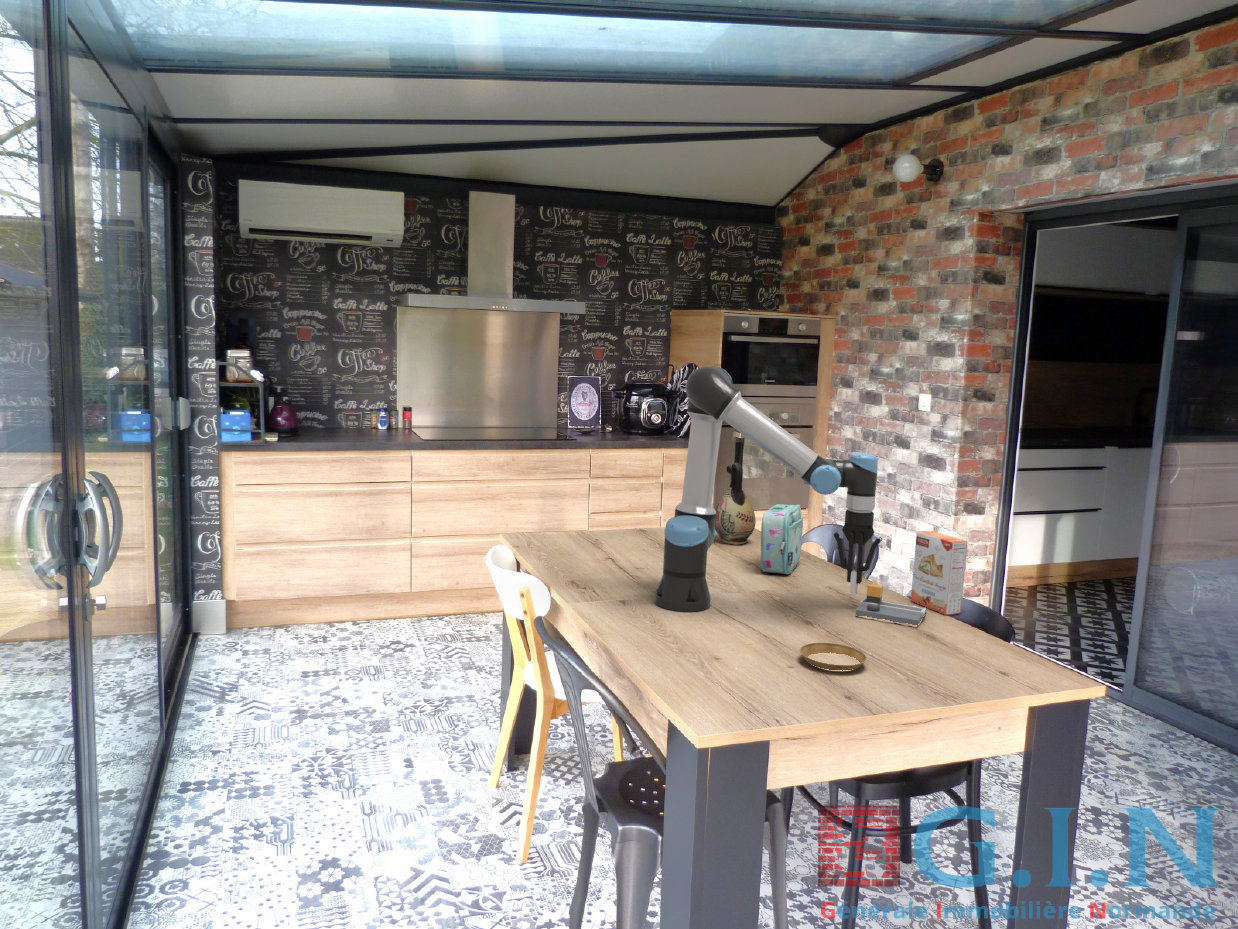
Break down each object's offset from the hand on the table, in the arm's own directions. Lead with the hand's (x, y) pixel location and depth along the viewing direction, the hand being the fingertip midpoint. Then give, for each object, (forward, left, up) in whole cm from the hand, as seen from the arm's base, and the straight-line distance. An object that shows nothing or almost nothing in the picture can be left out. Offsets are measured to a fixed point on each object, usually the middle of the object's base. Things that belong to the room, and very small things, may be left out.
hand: (853, 594), depth 244 cm
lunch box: (+32, +31, -4) cm, 45 cm away
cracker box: (+15, -20, -4) cm, 25 cm away
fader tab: (0, -6, -2) cm, 6 cm away
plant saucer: (-48, -7, -5) cm, 49 cm away
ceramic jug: (+60, +57, -4) cm, 83 cm away
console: (-1, -11, -4) cm, 12 cm away
